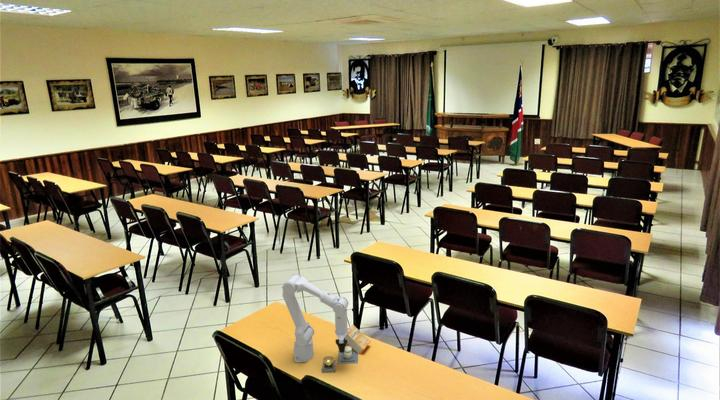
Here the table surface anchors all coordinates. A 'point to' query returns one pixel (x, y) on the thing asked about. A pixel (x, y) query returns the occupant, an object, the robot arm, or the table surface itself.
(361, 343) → the supplement box
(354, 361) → the filter base
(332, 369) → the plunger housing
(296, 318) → the robot arm
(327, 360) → the plunger
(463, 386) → the table surface
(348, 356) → the cylinder
